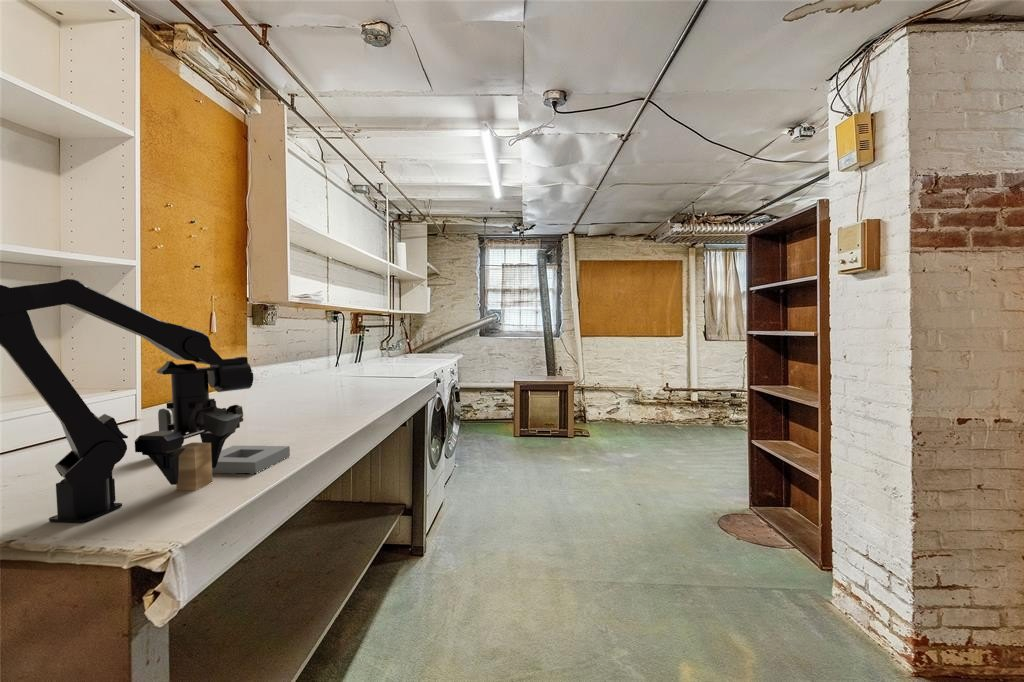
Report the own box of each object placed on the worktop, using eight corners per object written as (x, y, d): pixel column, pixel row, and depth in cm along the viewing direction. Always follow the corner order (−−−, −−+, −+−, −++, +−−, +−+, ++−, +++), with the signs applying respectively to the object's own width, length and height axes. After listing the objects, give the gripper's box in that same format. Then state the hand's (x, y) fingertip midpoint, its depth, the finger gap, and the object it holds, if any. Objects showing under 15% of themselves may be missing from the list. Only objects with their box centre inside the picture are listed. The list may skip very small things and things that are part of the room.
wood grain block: (196, 490, 83) (194, 448, 83) (176, 489, 83) (174, 448, 83) (212, 482, 87) (210, 442, 87) (193, 482, 87) (192, 442, 87)
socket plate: (255, 474, 92) (255, 462, 91) (193, 473, 93) (192, 461, 93) (289, 456, 103) (289, 446, 103) (234, 455, 105) (233, 445, 105)
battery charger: (188, 455, 106) (186, 408, 105) (169, 459, 103) (167, 411, 102) (178, 450, 110) (176, 405, 109) (159, 454, 107) (157, 407, 106)
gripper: (190, 404, 75) (194, 495, 75) (262, 388, 93) (265, 461, 94) (129, 404, 76) (134, 494, 76) (213, 388, 94) (216, 460, 95)
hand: (194, 475), depth 85 cm, fingers open, 9 cm apart
